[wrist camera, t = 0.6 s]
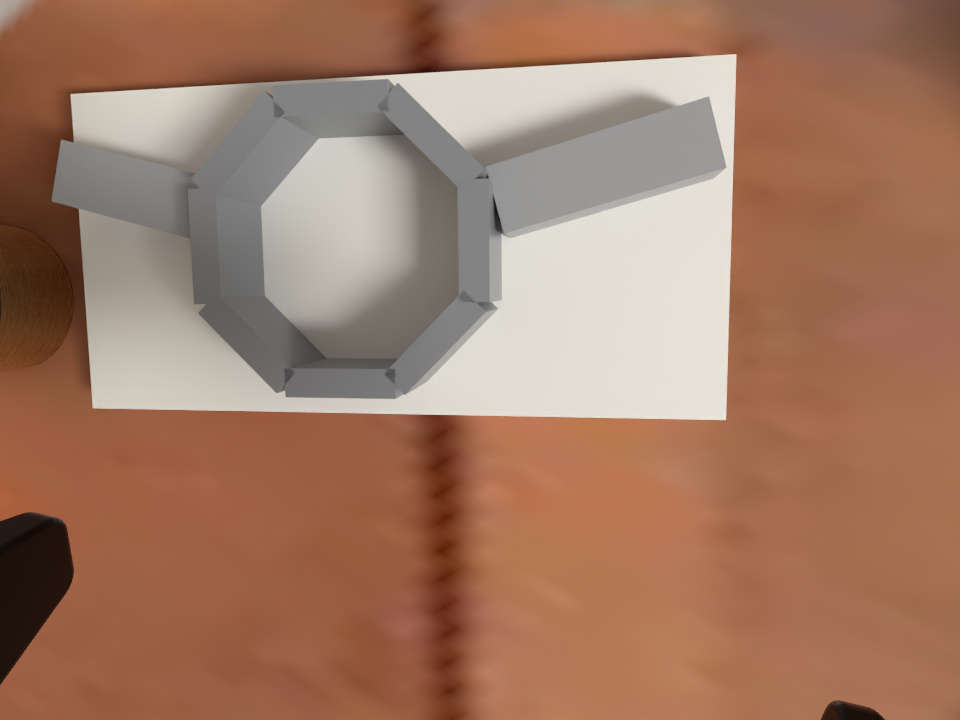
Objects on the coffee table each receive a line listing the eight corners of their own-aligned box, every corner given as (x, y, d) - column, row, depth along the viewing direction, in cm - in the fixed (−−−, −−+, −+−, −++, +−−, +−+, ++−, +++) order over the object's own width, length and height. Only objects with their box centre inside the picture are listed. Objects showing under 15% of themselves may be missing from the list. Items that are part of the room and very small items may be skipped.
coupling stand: (717, 412, 21) (747, 440, 17) (117, 402, 24) (29, 424, 20) (727, 68, 19) (761, 16, 16) (97, 104, 23) (0, 67, 19)
